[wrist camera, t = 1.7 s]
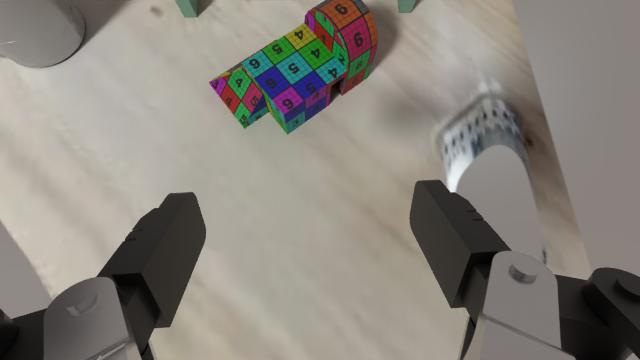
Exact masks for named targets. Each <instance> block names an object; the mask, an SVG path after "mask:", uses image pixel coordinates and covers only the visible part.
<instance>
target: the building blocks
mask: <svg viewBox="0 0 640 360" xmlns="http://www.w3.org/2000/svg"><path fill="white" fill-rule="evenodd" d="M377 42H378V41H377V31H376V27H375V24H374V21H373V18H372V16H371V14H370V12H369V10H368V8H367V6H366V5H365V4H364V3H363V1H362V0H325V1H324V2H322V3H320V4H319V5H317V6H316V7H314V8H312V9H311V10H309V11H308V12H307V14H306V15H305V22H304V24H302V25H301V26H299V27H297V28H296V29H294V30H293V31H291V32H290V33H288V34H286V35H285V36H283V37H282V38H280V39H278V40H275V41H273V42H272V43H270V44H269V45H267V46H265V47H264V48H262V49H261V50H259V51H258V52H256V53H254V54H253V55H251V56H250V57H248V58H247V59H245V60H243V61H242V62H240V63H239V64H237V65H236V66H234V67H232V68H231V69H229V70H228V71H226V72H225V73H223V74H221V75H220V76H218V77H217V78H215V79H213V80H212V81H210V82H209V83H210V85H211V86H212V87H213V89H214V90H215V91H216V93H217V94H218V95H219V96H220V98H221V99H222V100H223V102H224V103H225V104H226V105H227V107H228V108H229V109H230V111H231V112H232V113H233V114H234V116H235V117H236V118H237V119H238V121H239V122H240V123H241V125H242V126H243V127H244V128H246V127H248V126H249V125H251V124H252V123H253V122H255V121H256V120H258V119H259V118H261V117H262V116H264V115H265V114H267V113H268V112H270V113H271V114H272V116H273V117H274V118H275V119H276V121H277V122H278V123H279V124H280V126H281V127H282V128H283V129H284V131H285V132H286V133H287V134H289V133H290V132H292V131H293V130H295V129H296V128H297V127H299V126H300V125H302V124H303V123H304V122H306V121H307V120H309V119H310V118H311V117H313V116H314V115H316V114H317V113H318V112H320V111H321V110H323V109H324V108H325V107H327V106H328V105H329V100H330V93H331V86H332V85H333V84H335V83H336V82H338V81H339V80H340V79H341V82H340V87H339V93H340V94H341V95H344V94H345V93H347V92H348V91H349V90H351V89H352V88H354V87H355V86H356V85H358V84H359V83H361V82H362V81H363V80H365V79H366V78H367V77H368V74H369V71H370V68H371V65H372V62H373V59H374V56H375V53H376V49H377Z"/></svg>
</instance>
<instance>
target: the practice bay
mask: <svg viewBox="0 0 640 360" xmlns="http://www.w3.org/2000/svg"><path fill="white" fill-rule="evenodd" d="M175 1H176V3H177V4H178V6H179V8H180V10H181V12H182V13H183V15H184V17H197V11H198V0H175ZM397 1H398V8H399V13H408V12H411V11H412V9H413V6H414V4H415V2H416V0H397Z"/></svg>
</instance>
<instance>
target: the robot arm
mask: <svg viewBox="0 0 640 360" xmlns="http://www.w3.org/2000/svg"><path fill="white" fill-rule="evenodd" d="M84 33H85V23H84V19H83V17H82V15H81V14H80V12H79V11H78V10H77V9H76V8H75V7H74V6H73V5H72V4H71V3H70V2H69V1H68V0H0V57H7V58H9V59H11V60H12V61H14V62H16V63H17V64H20V65H22V66H26V67H32V68H41V67H47V66H51V65H54V64H56V63H59V62H61V61H63V60H64V59H66V58H67V57H69V56H70V55H71V54H72V53H74V51H75V50H76V49H77V48H78V47H79V45H80V43H81V42H82V40H83V37H84ZM410 226H411V229H412V232H413V234H414V236H415V238H416V240H417V242H418V244H419V246H420V248H421V250H422V252H423V253H424V255H425V257H426V259H427V261H428V263H429V265H430V267H431V269H432V271H433V273H434V275H435V277H436V279H437V281H438V283H439V285H440V287H441V289H442V291H443V293H444V295H445V297H446V299H447V301H448V303H449V305H450V307H451V308H461V307H465V308H466V309H467V311H468V313H469V316H468V319H467V321H466V326H465V330H464V334H463V338H462V343H461V347H460V351H459V356H458V360H626V359H627V358H628V357H629V356H630V355H631V354H632V353H634V354H635V355H636V356H637V357H638V358H639V359H640V277H638V276H636V275H634V274H632V273H629V272H626V271H623V270H619V269H615V268H599V269H596V270H595V271H594V272H593V273H592V275H591V276H590V277H589V279H588V280H582V279H577V278H571V277H566V276H561V275H555V274H553V272H552V271H551V270H550V269H549V268H548V267H547V266H546V265H545V264H543V263H542V262H540V261H539V260H537V259H535V258H533V257H531V256H529V255H526V254H523V253H520V252H516V251H511V249H510V248H509V247H508V246H507V245H506V244H505V242H504V241H503V240H502V239H501V238H500V237H499V236H498V234H497V233H496V232H495V231H494V230H493V229H492V228H491V226H490V225H489V224H488V223H487V222H486V221H484V219H483V217H482V216H481V215H480V214H479V213H478V212H476V209H475V208H474V207H473V206H472V205H471V204H470V202H469V201H468V200H466V199H465V198H463V197H461V196H460V195H458V194H457V193H455V192H452V193H451V192H450V191H449V190H448V189H447V188H446V186H445V185H444V184H443V183H442V182H441V181H440V180H423V181H417V182H416V184H415V189H414V194H413V200H412V205H411V210H410ZM205 238H206V227H205V223H204V220H203V217H202V214H201V211H200V207H199V204H198V201H197V198H196V196H195V194H194V193H193V192H186V193H170V194H168V195H167V197H166V198H165V200H164V201H163V202H162V204H161V205H160V207H159V208H154V209H153V210H151V211H150V212H149V213H147V214H146V215H145V216H143V217H142V218H141V219H140V220H139V221H138V223H137V224H136V225H135V227H134V228H133V229H132V232H130V233H129V234H128V236H127V237H126V238H125V241H123V242H122V244H121V245H120V246H119V248H118V249H117V250H116V252H115V253H114V254H113V255H112V257H111V258H110V259H109V261H108V262H107V263H106V265H105V266H104V267H103V269H102V270H101V271H100V273H99V274H98V275H97V276H96V277H95V278H90V279H87V280H84V281H81V282H79V283H77V284H75V285H73V286H71V287H69V288H68V289H66V290H65V291H63V292H62V293H61V294H60V295H58V296H57V297H56V298H55V299H54V300H53V301H52V302H51V304H50V305H49V306H48V308H46V309H43V310H40V311H37V312H33V313H30V314H27V315H23V316H20V317H17V318H13V319H10V318H9V317H8V316H7V315H6V314H5V313H4V312H3V311H2V310H1V309H0V360H157V357H156V354H155V351H154V349H153V346H152V343H151V341H150V339H149V338H150V336H151V334H152V332H153V330H154V328H164V327H170V326H171V323H172V321H173V318H174V316H175V313H176V311H177V309H178V306H179V304H180V301H181V299H182V296H183V294H184V291H185V289H186V287H187V284H188V282H189V279H190V277H191V274H192V272H193V270H194V267H195V265H196V262H197V260H198V257H199V255H200V252H201V250H202V248H203V245H204V242H205Z"/></svg>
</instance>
